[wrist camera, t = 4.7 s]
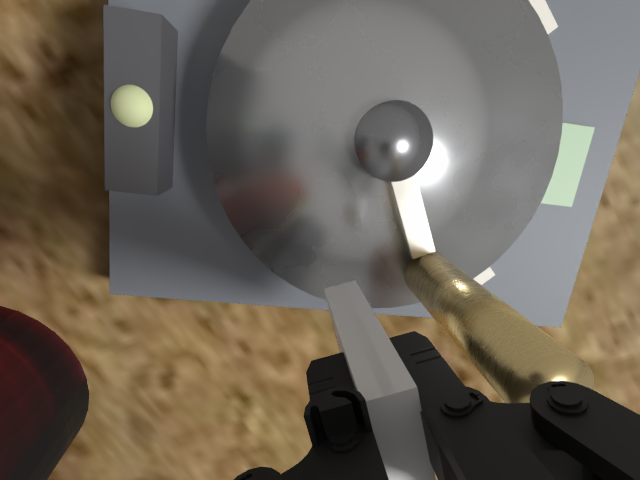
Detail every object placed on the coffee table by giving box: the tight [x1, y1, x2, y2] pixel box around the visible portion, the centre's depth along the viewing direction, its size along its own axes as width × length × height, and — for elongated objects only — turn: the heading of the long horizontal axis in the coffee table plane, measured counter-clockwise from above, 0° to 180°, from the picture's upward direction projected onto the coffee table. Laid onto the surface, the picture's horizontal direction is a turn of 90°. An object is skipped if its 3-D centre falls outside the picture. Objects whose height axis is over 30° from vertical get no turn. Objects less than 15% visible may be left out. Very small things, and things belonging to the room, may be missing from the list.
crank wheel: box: [206, 0, 594, 403], centre depth 12 cm, size 14×14×9 cm
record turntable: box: [103, 0, 640, 327], centre depth 16 cm, size 22×16×4 cm
